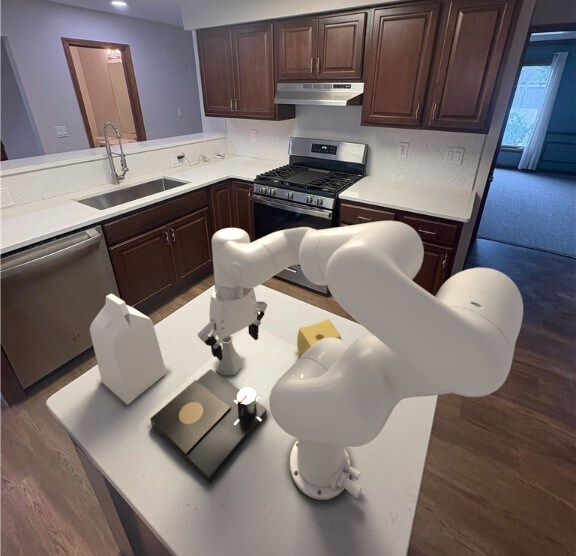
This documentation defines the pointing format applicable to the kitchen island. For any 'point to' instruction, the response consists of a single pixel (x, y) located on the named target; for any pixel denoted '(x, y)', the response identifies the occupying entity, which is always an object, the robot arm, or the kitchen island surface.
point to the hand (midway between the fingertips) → (236, 346)
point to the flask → (228, 358)
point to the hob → (220, 430)
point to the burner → (190, 416)
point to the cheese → (315, 335)
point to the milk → (126, 349)
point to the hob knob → (246, 403)
